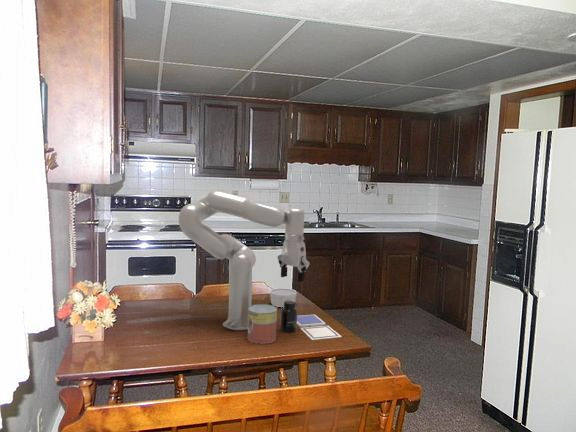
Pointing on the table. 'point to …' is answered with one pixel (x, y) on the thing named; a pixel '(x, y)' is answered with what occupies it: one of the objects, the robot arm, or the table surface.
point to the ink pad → (309, 321)
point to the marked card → (320, 332)
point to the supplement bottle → (288, 317)
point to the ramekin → (282, 296)
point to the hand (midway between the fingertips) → (292, 279)
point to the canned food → (262, 323)
